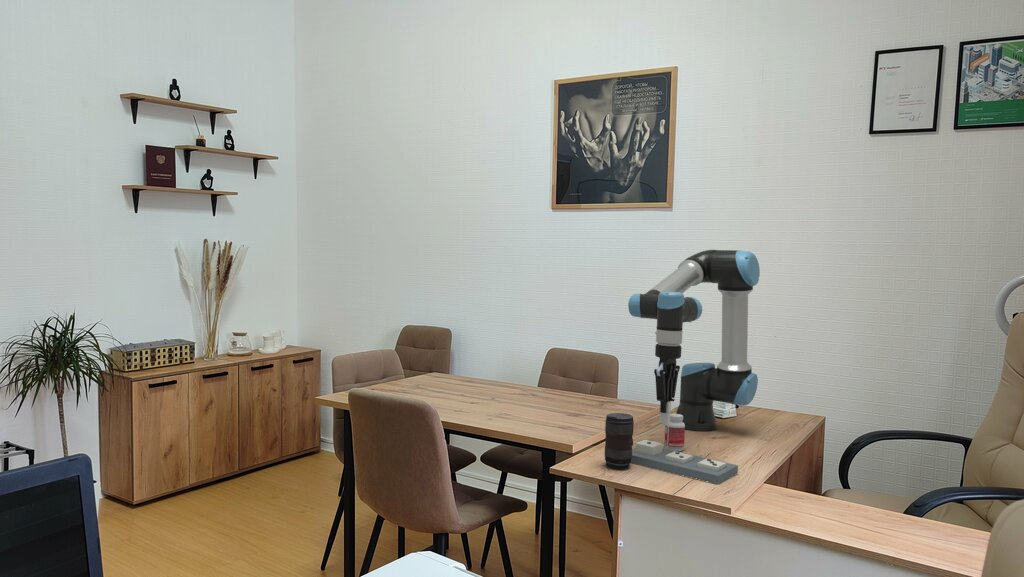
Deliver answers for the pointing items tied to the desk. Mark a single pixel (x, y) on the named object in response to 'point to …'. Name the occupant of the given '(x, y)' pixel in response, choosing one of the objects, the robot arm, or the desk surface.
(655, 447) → the tile
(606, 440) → the camera lens
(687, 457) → the tile
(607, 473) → the desk surface
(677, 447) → the pill bottle
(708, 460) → the tile
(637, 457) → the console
